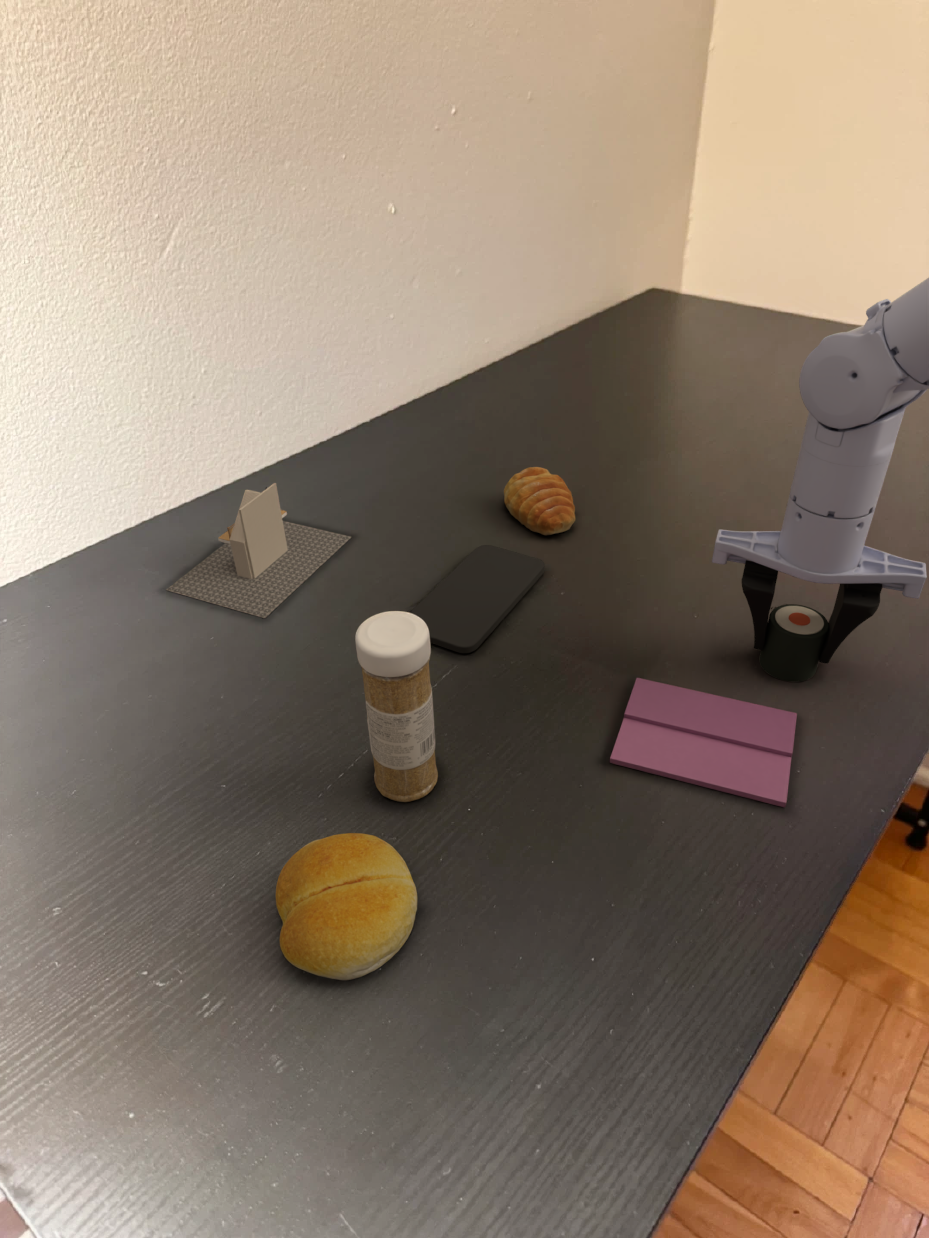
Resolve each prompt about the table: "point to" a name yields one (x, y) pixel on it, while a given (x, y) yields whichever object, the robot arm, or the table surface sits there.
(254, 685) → the table surface
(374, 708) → the spice jar
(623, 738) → the napkin
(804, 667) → the sushi roll
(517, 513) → the pastry
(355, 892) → the bread roll
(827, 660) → the robot arm
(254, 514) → the architectural model
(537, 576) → the phone
